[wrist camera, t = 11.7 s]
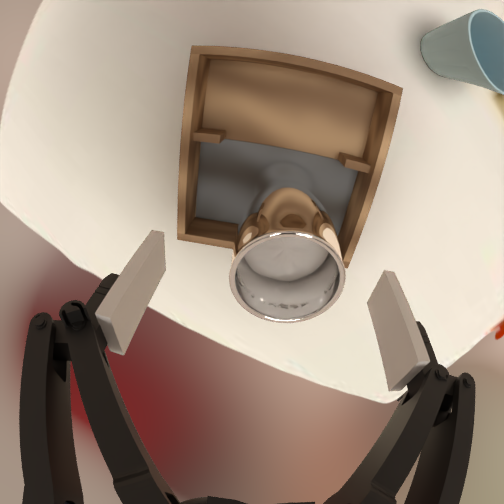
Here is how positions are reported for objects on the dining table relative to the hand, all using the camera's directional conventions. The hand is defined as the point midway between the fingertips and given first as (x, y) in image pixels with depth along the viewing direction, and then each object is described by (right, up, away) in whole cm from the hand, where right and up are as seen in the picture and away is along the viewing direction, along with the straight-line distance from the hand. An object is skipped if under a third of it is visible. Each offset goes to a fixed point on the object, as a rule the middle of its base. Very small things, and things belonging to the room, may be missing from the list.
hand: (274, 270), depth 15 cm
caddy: (+2, +11, +10) cm, 15 cm away
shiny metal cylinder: (+2, +8, +12) cm, 14 cm away
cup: (+19, +22, +2) cm, 29 cm away
